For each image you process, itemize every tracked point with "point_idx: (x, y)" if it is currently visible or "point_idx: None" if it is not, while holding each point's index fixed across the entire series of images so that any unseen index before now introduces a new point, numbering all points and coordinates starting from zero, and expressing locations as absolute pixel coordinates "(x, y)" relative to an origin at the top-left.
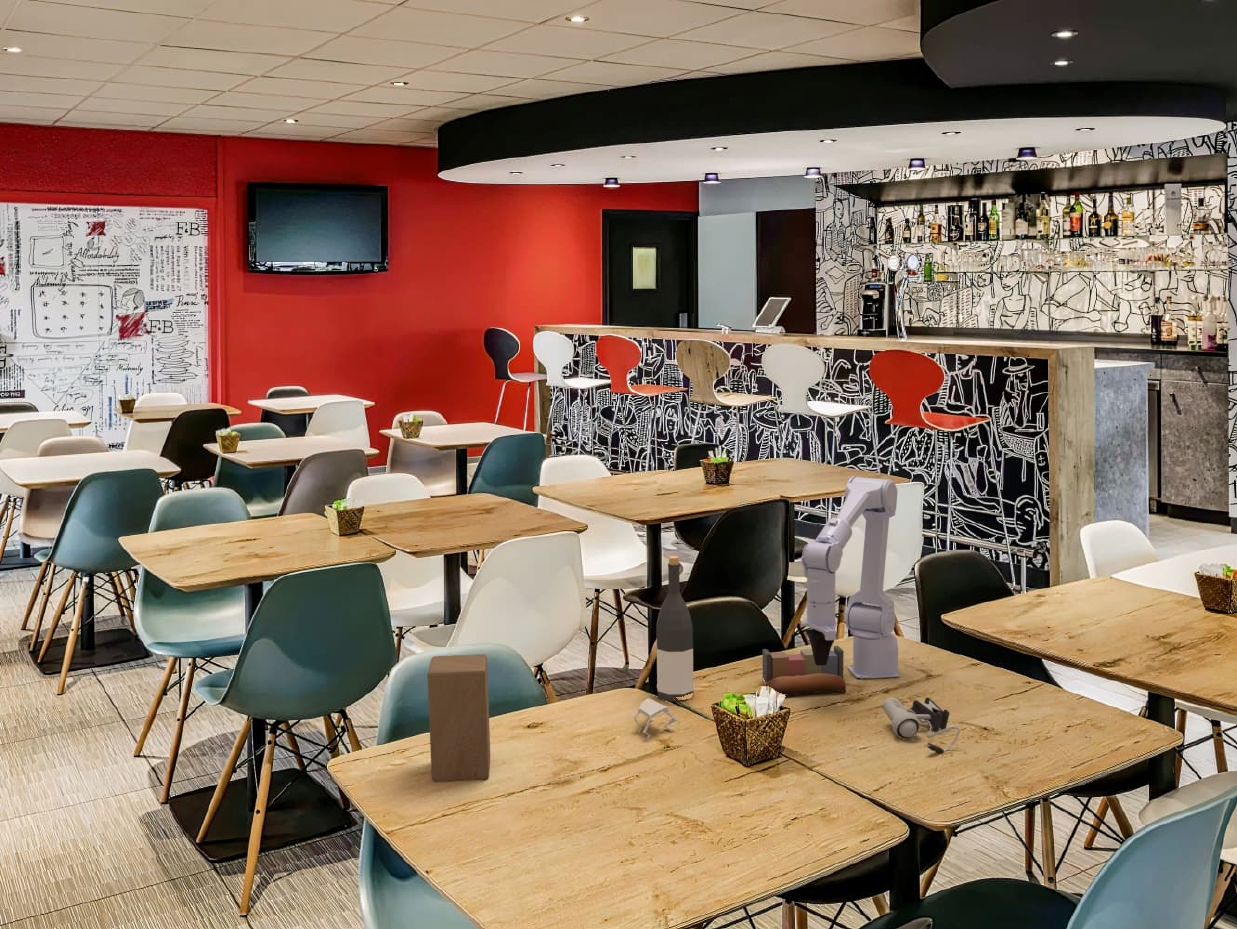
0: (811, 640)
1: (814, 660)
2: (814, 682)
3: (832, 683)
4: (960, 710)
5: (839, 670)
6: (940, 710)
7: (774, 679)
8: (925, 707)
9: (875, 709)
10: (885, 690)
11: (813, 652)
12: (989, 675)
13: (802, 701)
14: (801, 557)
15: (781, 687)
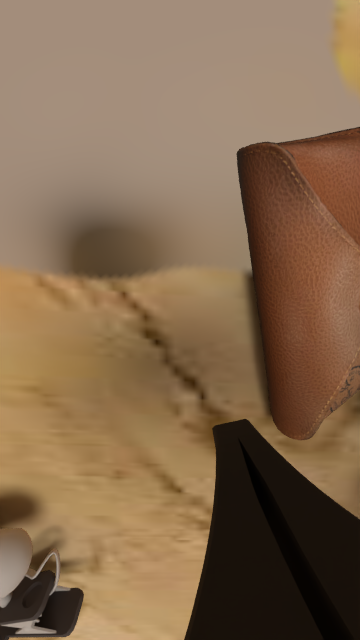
0: (263, 596)
1: (248, 430)
2: (285, 354)
3: (283, 404)
4: (151, 602)
5: None
6: (15, 634)
7: (307, 191)
8: (8, 622)
9: (146, 474)
10: None
11: (258, 470)
12: None
13: (210, 295)
14: None
15: (262, 224)
